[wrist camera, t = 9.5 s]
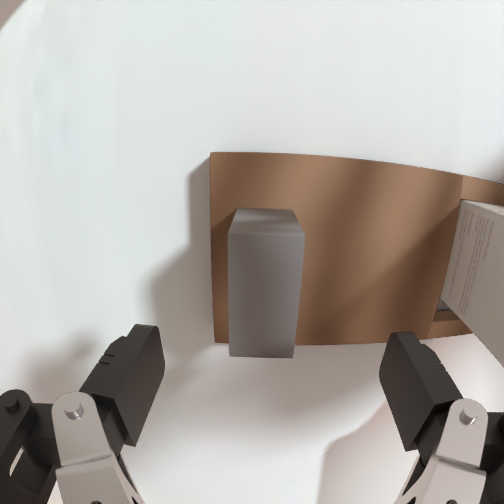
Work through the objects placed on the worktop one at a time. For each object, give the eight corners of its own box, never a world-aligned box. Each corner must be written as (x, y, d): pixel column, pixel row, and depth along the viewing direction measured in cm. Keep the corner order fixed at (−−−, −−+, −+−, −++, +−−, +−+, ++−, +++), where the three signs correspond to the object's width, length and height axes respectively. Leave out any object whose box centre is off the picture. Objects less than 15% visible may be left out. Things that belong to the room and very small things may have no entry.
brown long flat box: (540, 194, 16) (591, 213, 10) (508, 318, 20) (546, 355, 14) (214, 152, 17) (188, 155, 11) (217, 330, 21) (202, 395, 15)
